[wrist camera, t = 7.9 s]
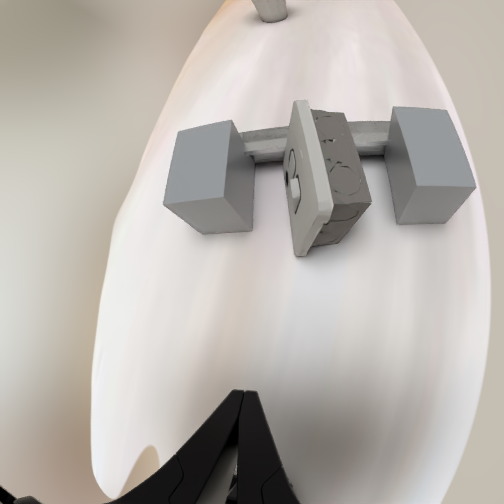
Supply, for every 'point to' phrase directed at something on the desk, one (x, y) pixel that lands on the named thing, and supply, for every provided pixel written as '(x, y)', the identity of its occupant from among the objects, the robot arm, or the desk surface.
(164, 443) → the desk surface
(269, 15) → the cup
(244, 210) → the mounted modules
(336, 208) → the electrical switch
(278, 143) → the rail
